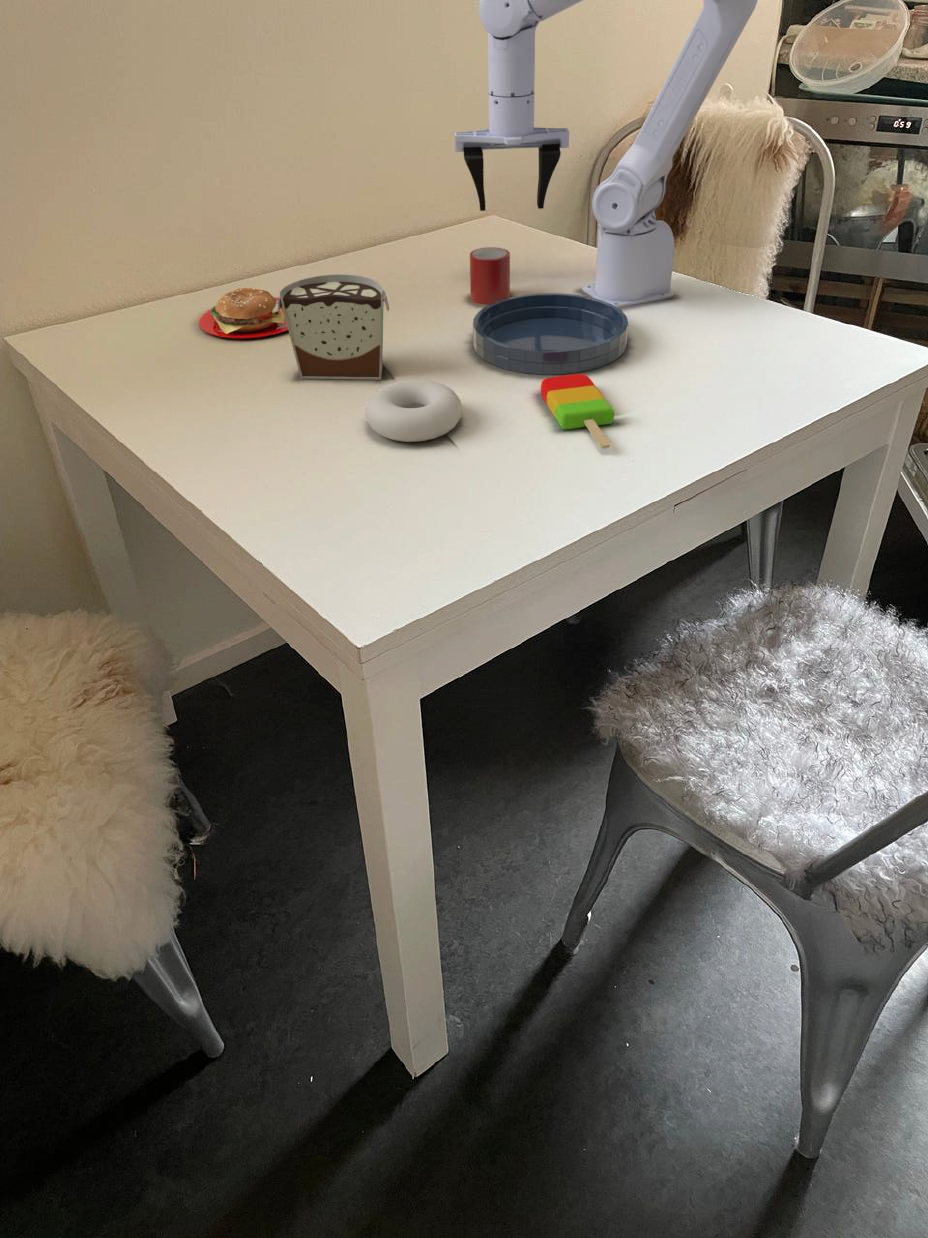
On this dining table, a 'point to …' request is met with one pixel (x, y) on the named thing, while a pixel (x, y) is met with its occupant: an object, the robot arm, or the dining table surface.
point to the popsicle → (578, 404)
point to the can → (489, 275)
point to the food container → (336, 326)
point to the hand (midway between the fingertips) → (511, 207)
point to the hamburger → (245, 315)
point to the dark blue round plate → (550, 333)
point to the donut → (413, 410)
